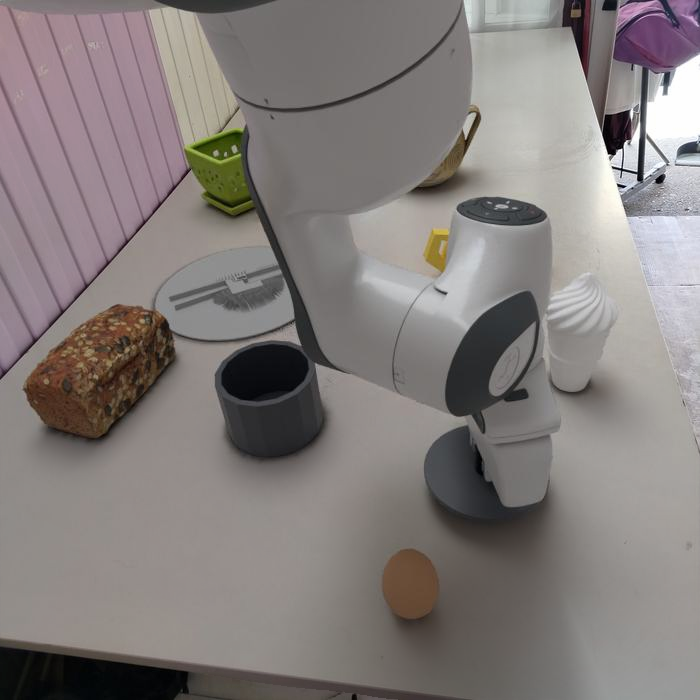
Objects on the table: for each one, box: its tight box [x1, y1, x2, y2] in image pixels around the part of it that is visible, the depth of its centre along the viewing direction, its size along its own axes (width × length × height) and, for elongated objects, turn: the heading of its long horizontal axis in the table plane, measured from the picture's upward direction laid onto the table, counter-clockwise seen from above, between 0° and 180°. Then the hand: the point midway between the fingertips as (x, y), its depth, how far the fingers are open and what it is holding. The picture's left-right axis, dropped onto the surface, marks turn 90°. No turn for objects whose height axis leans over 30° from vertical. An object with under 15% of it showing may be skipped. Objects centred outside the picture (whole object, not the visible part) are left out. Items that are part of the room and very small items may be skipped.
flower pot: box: [183, 127, 255, 216], centre depth 130 cm, size 14×14×13 cm
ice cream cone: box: [545, 271, 619, 393], centre depth 77 cm, size 8×8×16 cm
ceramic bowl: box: [415, 104, 482, 188], centre depth 130 cm, size 22×17×15 cm
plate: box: [154, 246, 295, 342], centre depth 106 cm, size 28×28×1 cm
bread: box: [21, 303, 176, 439], centre depth 86 cm, size 19×11×10 cm, turn 158°
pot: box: [214, 339, 324, 458], centre depth 78 cm, size 12×12×8 cm
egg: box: [381, 548, 440, 620], centre depth 57 cm, size 5×5×8 cm
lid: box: [423, 424, 551, 523], centre depth 67 cm, size 13×13×5 cm
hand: (485, 462), depth 68 cm, fingers closed on lid, 2 cm apart
